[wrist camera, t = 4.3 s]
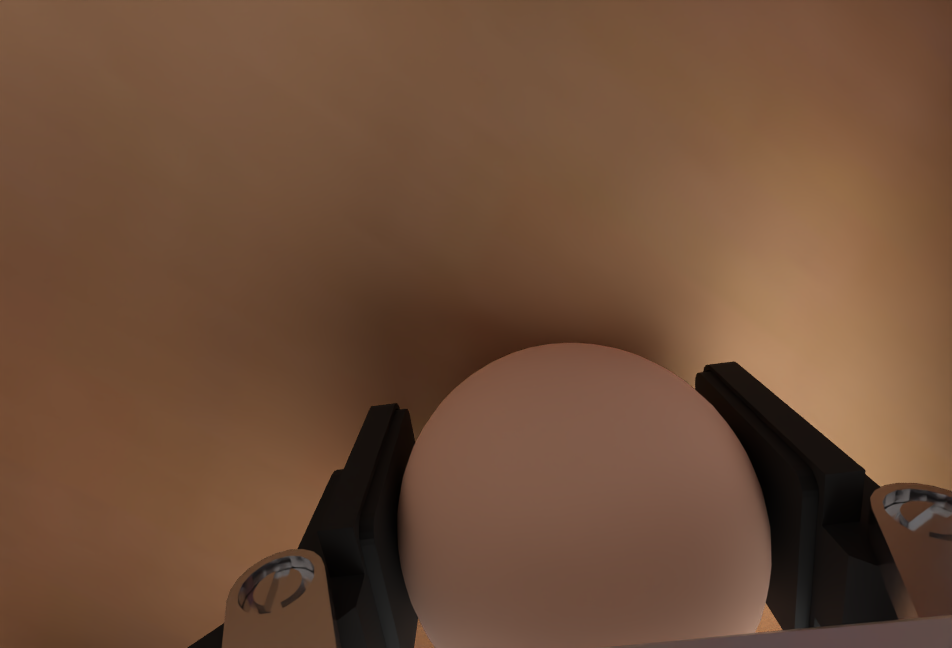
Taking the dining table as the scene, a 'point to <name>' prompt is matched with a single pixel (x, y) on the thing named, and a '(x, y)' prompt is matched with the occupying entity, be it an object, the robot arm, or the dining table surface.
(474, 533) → the ball
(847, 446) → the dining table surface
